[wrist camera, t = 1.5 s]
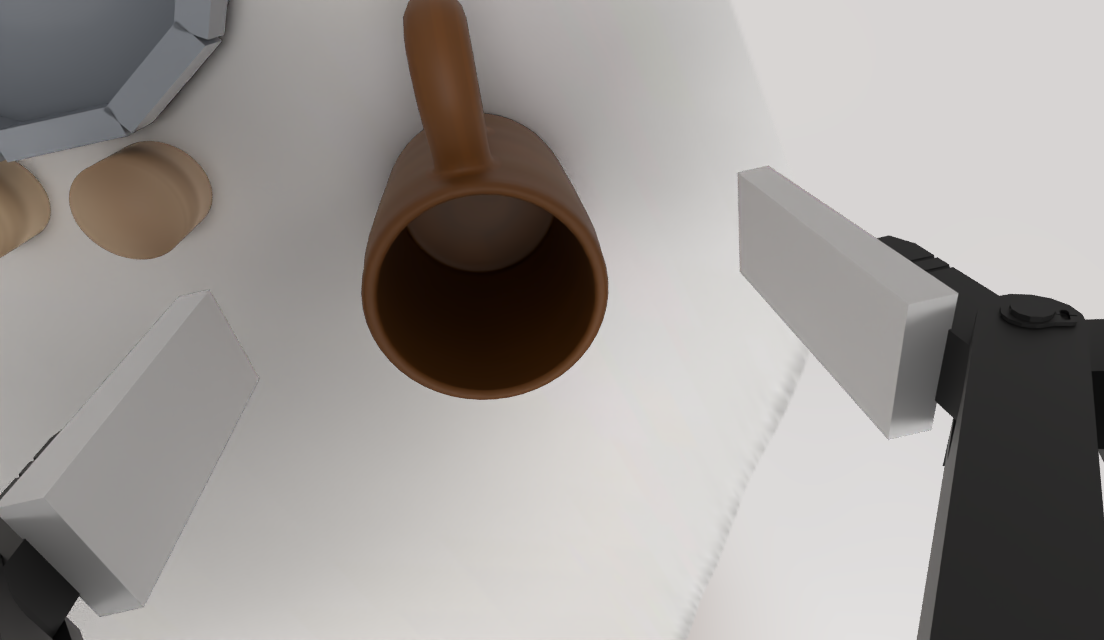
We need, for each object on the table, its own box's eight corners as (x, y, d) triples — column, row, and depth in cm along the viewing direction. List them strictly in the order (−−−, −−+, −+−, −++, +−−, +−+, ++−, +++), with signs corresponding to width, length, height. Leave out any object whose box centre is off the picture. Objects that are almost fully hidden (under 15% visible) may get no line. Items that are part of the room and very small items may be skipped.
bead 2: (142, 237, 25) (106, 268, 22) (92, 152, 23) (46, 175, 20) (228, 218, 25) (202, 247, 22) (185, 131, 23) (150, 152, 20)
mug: (330, -2, 21) (254, 16, 13) (540, -34, 22) (589, -34, 14) (412, 291, 28) (394, 424, 20) (574, 263, 28) (622, 382, 20)
